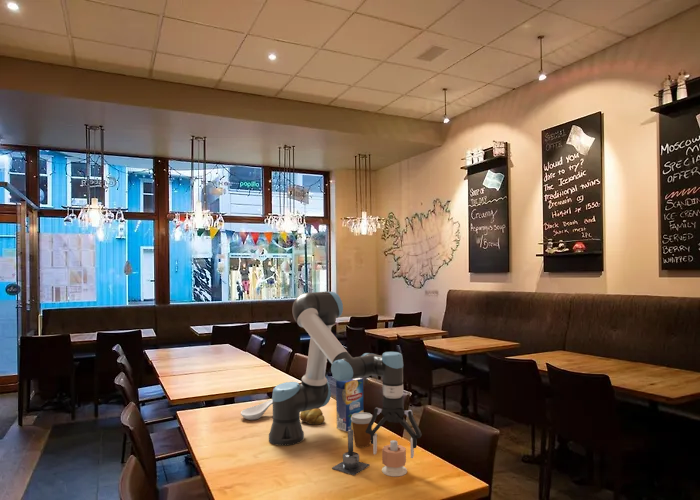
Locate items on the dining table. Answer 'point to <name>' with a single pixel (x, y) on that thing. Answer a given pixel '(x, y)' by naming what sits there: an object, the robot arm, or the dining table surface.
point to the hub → (391, 470)
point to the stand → (350, 459)
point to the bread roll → (312, 416)
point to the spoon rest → (256, 410)
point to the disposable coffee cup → (361, 428)
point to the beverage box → (348, 401)
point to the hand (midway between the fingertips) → (393, 454)
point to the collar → (394, 456)
